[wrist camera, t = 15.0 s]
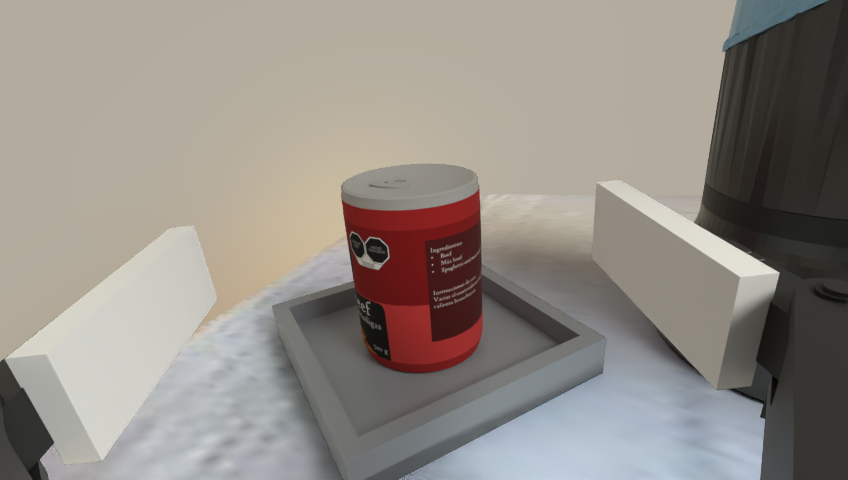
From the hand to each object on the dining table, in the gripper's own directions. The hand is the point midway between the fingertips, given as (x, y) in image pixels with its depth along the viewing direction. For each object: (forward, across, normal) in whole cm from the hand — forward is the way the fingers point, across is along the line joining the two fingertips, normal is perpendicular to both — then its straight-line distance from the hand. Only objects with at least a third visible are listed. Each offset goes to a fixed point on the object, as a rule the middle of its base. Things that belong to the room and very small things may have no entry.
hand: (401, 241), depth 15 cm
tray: (+11, 0, -13) cm, 17 cm away
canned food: (+11, 0, -12) cm, 17 cm away
